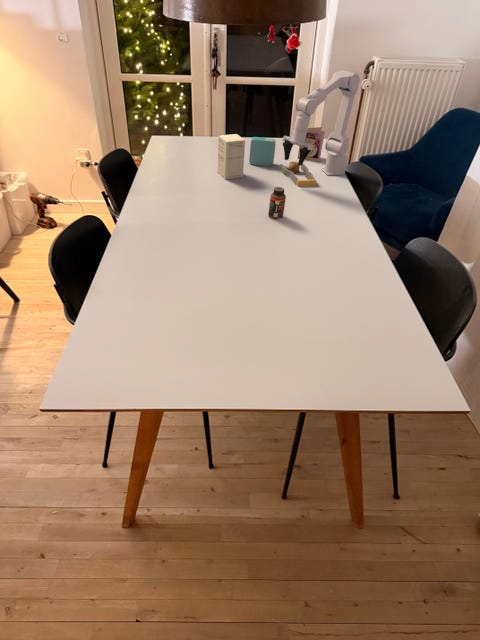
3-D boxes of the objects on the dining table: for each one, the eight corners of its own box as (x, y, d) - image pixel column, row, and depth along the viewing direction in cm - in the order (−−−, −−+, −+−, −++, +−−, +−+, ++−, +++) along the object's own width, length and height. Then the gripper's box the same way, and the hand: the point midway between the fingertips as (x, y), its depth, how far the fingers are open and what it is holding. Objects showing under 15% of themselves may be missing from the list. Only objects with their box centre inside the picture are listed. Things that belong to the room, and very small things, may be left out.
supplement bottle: (278, 221, 169) (282, 193, 162) (265, 216, 171) (268, 189, 164) (285, 216, 173) (289, 188, 166) (272, 211, 175) (275, 184, 168)
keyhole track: (279, 169, 212) (280, 164, 211) (302, 168, 215) (303, 163, 214) (294, 186, 197) (294, 181, 195) (318, 185, 200) (319, 180, 198)
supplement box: (235, 170, 208) (237, 133, 197) (243, 177, 201) (246, 139, 191) (216, 172, 204) (217, 135, 194) (224, 179, 198) (226, 141, 187)
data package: (273, 163, 218) (275, 138, 211) (273, 166, 215) (275, 141, 207) (249, 161, 219) (251, 136, 211) (248, 164, 215) (250, 139, 208)
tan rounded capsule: (296, 169, 214) (297, 161, 211) (300, 173, 210) (301, 165, 207) (286, 170, 213) (287, 161, 210) (290, 174, 209) (291, 165, 206)
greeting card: (297, 159, 226) (301, 128, 216) (299, 154, 231) (303, 124, 222) (319, 162, 224) (324, 131, 215) (320, 157, 230) (325, 127, 220)
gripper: (281, 125, 185) (274, 158, 192) (309, 134, 177) (301, 168, 185) (291, 125, 189) (284, 157, 197) (318, 133, 182) (310, 166, 190)
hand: (293, 162), depth 191 cm, fingers open, 7 cm apart
